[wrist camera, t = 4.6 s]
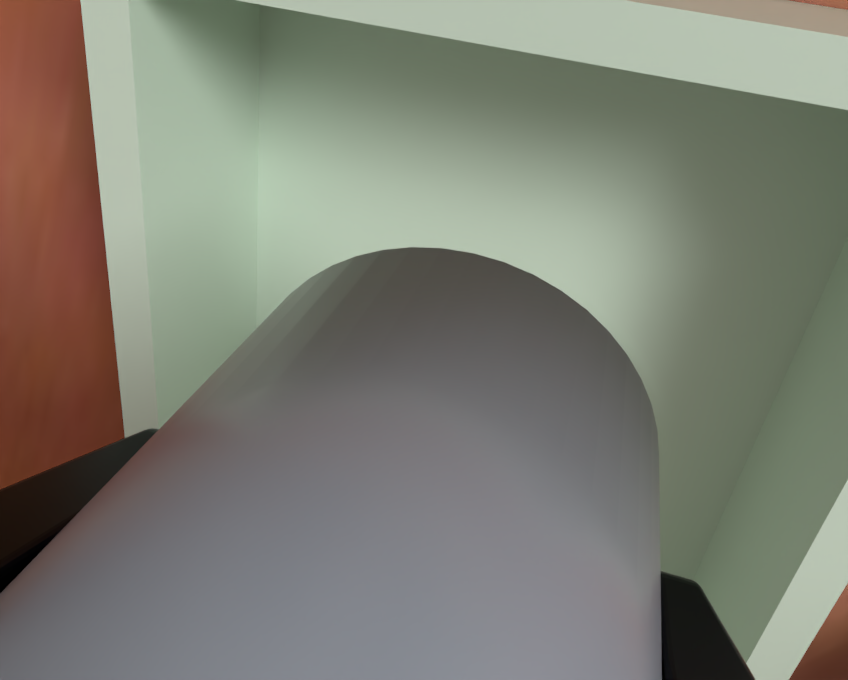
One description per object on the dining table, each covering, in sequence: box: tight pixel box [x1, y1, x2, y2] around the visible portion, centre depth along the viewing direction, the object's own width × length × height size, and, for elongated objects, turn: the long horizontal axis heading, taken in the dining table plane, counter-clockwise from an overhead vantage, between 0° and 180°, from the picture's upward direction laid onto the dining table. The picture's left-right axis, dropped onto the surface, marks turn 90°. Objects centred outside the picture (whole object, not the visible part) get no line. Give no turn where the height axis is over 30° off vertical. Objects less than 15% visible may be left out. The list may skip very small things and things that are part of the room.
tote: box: [81, 0, 848, 680], centre depth 16 cm, size 14×18×5 cm
